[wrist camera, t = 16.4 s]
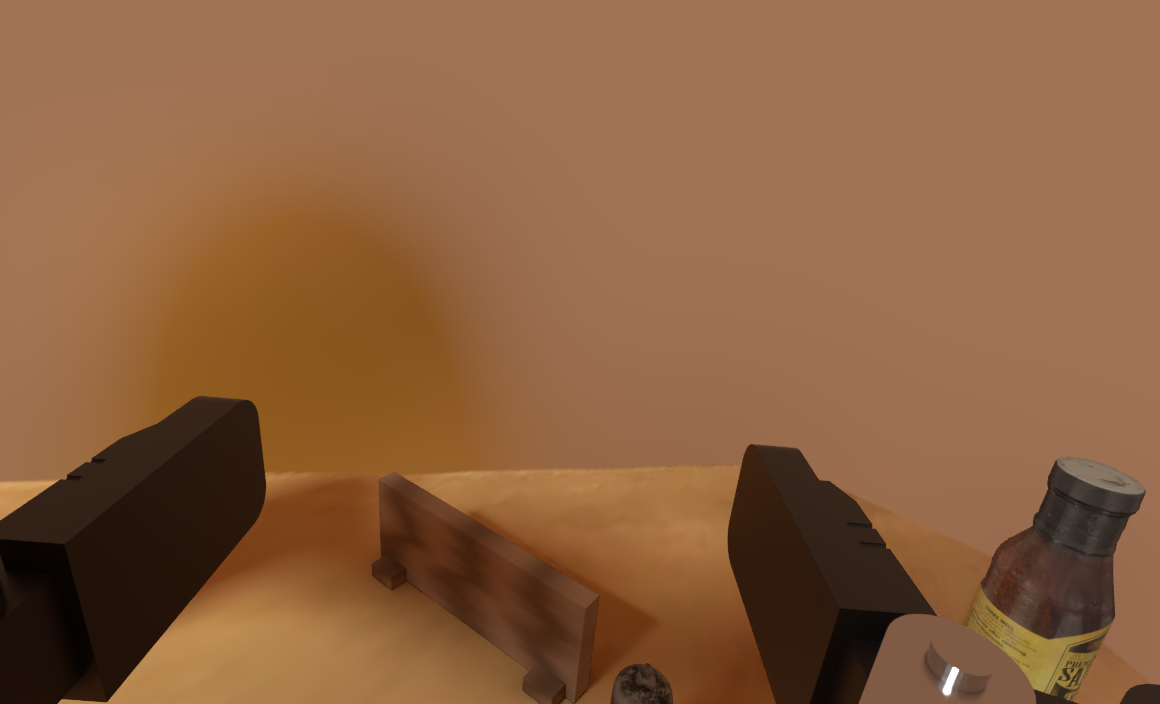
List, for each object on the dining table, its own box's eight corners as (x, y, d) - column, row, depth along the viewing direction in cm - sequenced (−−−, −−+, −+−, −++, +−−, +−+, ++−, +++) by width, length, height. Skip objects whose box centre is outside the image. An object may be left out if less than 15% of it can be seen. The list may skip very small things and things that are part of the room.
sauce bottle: (1033, 801, 36) (1182, 529, 29) (920, 731, 40) (1028, 474, 33) (1043, 728, 41) (1174, 478, 34) (941, 671, 44) (1040, 435, 37)
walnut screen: (366, 570, 49) (362, 487, 46) (410, 544, 52) (408, 464, 49) (560, 719, 38) (571, 623, 35) (599, 673, 41) (612, 582, 39)
